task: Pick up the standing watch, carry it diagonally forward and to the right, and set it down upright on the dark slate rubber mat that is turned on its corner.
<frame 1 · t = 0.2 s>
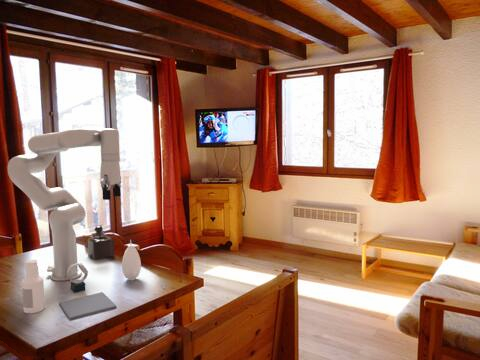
hand: (112, 197, 167), 36 cm above the table, tool pointing down, fingers open, 9 cm apart
white eggplant: (132, 280, 171), on the table
coffee grinder: (102, 257, 204), on the table
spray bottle: (34, 310, 141), on the table
watch: (78, 290, 160), on the table
mat: (87, 305, 144), on the table
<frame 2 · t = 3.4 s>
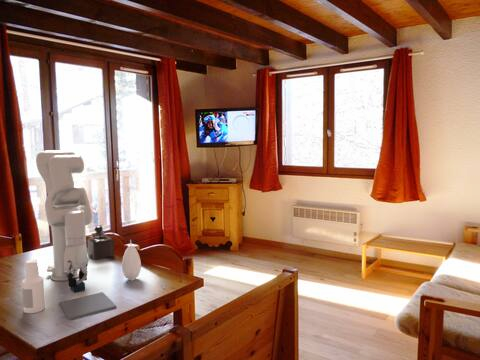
hand: (77, 283, 159), 3 cm above the table, tool pointing down, fingers closed on watch, 6 cm apart
watch: (78, 290, 159), on the table, touching gripper
everything else where it was.
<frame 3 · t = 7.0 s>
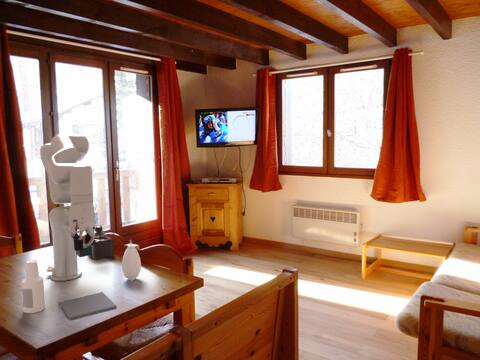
hand: (84, 247, 142), 22 cm above the table, tool pointing down, fingers closed on watch, 6 cm apart
watch: (84, 255, 142), point 19 cm above the table, touching gripper
everything else where it was.
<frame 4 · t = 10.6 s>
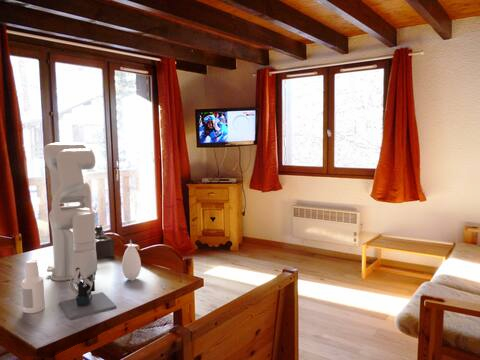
hand: (86, 293, 144), 5 cm above the table, tool pointing down, fingers closed on watch, 4 cm apart
watch: (85, 302, 144), point 1 cm above the table, touching gripper
everything else where it was.
when the fingers open (5 cm above the table, at t = 10.7 s): watch stays where it is, resting on mat.
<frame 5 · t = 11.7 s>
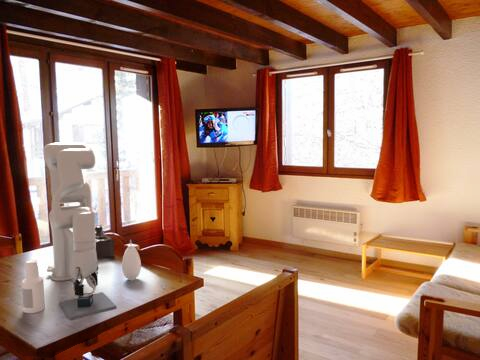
hand: (86, 290, 143), 6 cm above the table, tool pointing down, fingers open, 9 cm apart
watch: (85, 304, 144), point 1 cm above the table, touching mat
everything else where it was.
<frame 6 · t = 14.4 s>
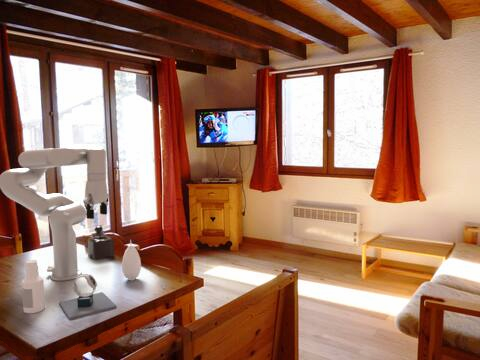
hand: (97, 216, 169), 28 cm above the table, tool pointing down, fingers open, 9 cm apart
nothing on the table moved.
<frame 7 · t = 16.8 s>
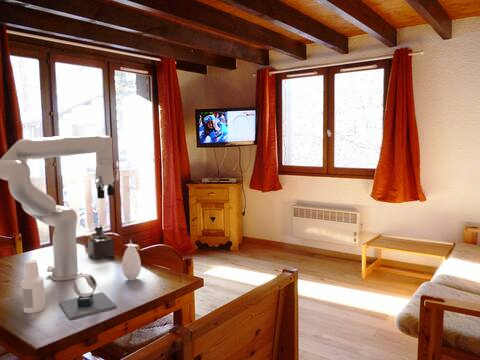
hand: (105, 196, 190), 33 cm above the table, tool pointing down, fingers open, 9 cm apart
nothing on the table moved.
at the end: watch inside the target area on the mat (0.5 cm from its centre), point 0.6 cm above the mat's base; watch tilted 0°; the gripper is holding nothing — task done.
